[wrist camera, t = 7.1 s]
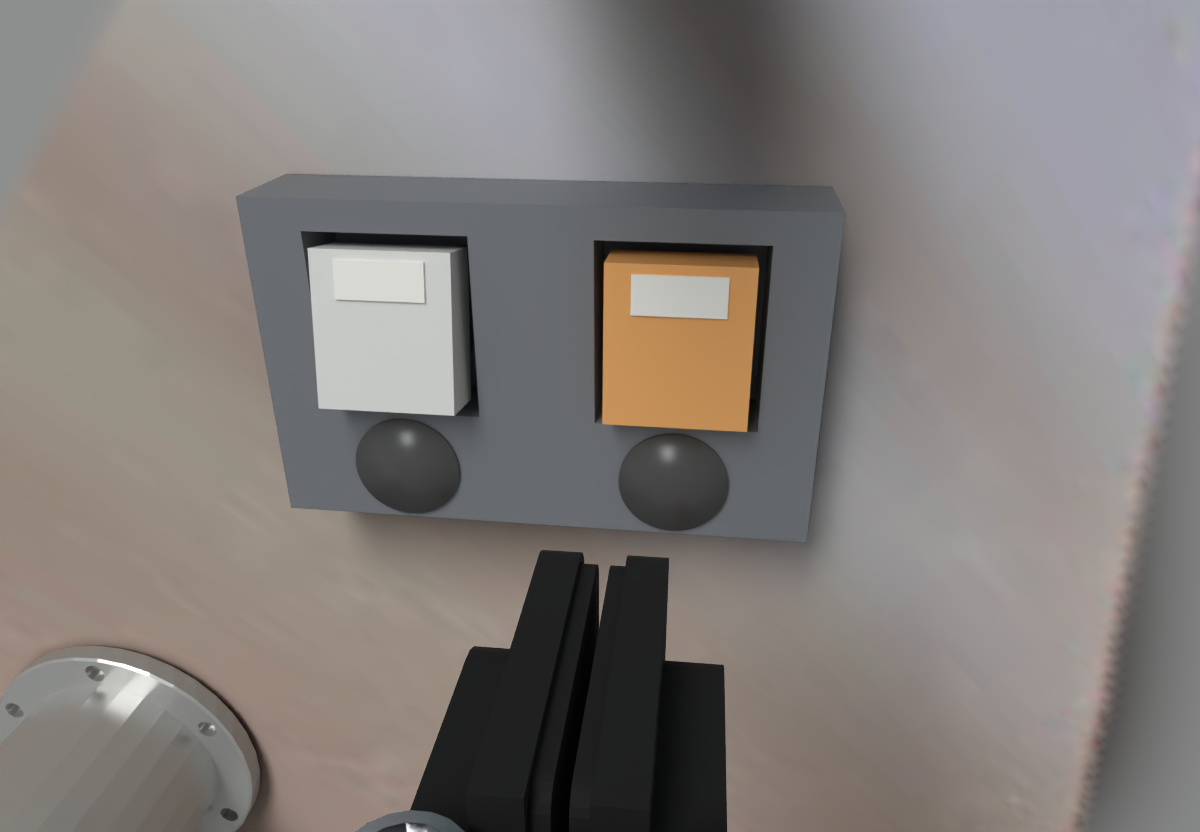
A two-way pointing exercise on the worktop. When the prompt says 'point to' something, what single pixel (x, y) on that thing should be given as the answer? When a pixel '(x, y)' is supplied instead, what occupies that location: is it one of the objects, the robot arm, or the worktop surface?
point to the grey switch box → (552, 353)
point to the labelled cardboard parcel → (678, 339)
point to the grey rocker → (391, 327)
